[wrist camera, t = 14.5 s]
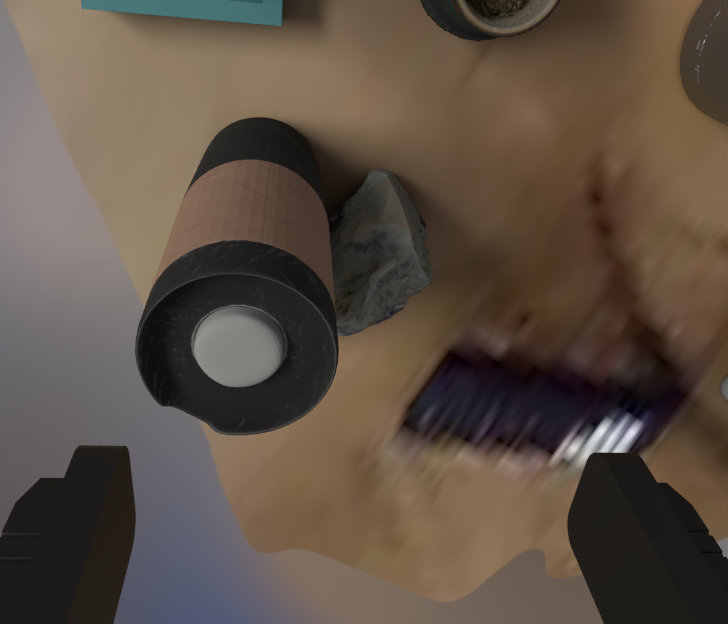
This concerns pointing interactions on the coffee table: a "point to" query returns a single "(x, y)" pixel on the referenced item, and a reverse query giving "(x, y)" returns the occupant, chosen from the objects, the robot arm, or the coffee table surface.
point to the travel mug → (245, 287)
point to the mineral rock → (376, 253)
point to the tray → (199, 9)
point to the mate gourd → (488, 16)
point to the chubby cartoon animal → (725, 387)
